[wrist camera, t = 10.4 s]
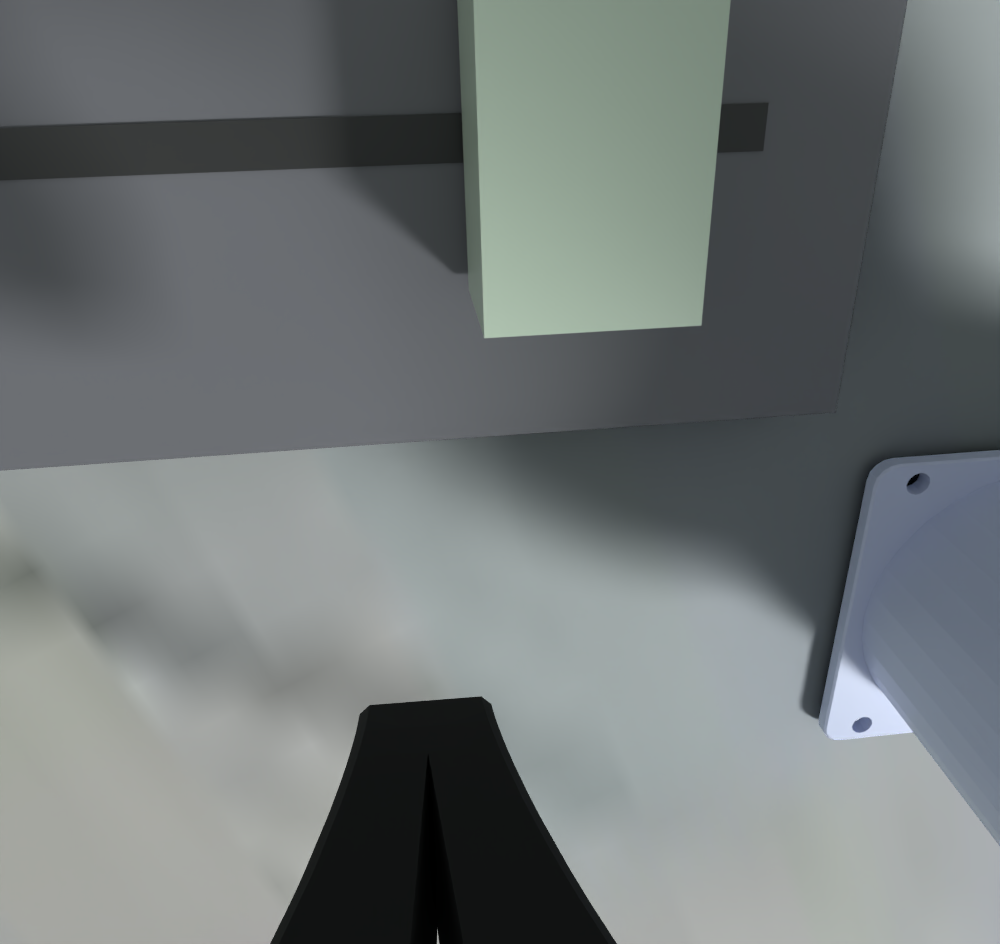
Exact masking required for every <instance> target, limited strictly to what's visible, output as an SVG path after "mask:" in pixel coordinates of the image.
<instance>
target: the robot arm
mask: <svg viewBox="0 0 1000 944" xmlns="http://www.w3.org/2000/svg"><path fill="white" fill-rule="evenodd" d="M919 473H920V475H919V477H918V479H917V481H915V482H914V483H913V484H912V485H908V486H907V483H908V481H909V479H910V478H912V477H913V476H914V475H916V474H919ZM859 718H860V719H859ZM858 719H859V720H858ZM856 720H857V721H856ZM819 725H820V727H821V729H822V730H823V732H824V733H825V735H826V736H827V737H828V738H830V739H832V740H845V739H855V738H864V737H873V736H882V735H892V734H901V733H910V732H913V733H914V734H915V735H916V737H917V738H918V739H919V741H920V742H921V743H922V744H923V746H924V747H925V748H926V750H927V751H928V752H929V754H930V755H931V756H932V758H933V759H934V760H935V762H936V763H937V764H938V766H939V767H940V768H941V769H942V771H943V772H944V773H945V775H946V776H947V777H948V779H949V780H950V781H951V783H952V784H953V785H954V787H955V788H956V789H957V790H958V792H959V793H960V794H961V796H962V797H963V798H964V800H965V801H966V802H967V804H968V805H969V806H970V808H971V809H972V810H973V812H974V813H975V814H976V815H977V817H978V818H979V819H980V821H981V822H982V823H983V825H984V826H985V827H986V829H987V830H988V831H989V833H990V834H991V835H992V837H993V838H994V839H995V840H996V842H997V843H998V844H999V846H1000V450H992V451H979V452H965V453H952V454H939V455H926V456H912V457H899V458H891V459H887V460H883V461H882V462H880V463H879V464H877V465H876V466H875V467H874V468H873V469H872V470H871V471H870V473H869V475H868V478H867V481H866V486H865V491H864V496H863V501H862V506H861V511H860V516H859V521H858V526H857V531H856V536H855V541H854V546H853V551H852V556H851V560H850V565H849V570H848V575H847V580H846V585H845V590H844V595H843V600H842V605H841V610H840V615H839V620H838V625H837V630H836V635H835V640H834V645H833V650H832V655H831V660H830V665H829V670H828V675H827V680H826V685H825V690H824V695H823V700H822V705H821V710H820V715H819ZM437 928H438V936H439V943H440V944H617V943H616V942H615V940H614V939H613V937H612V936H611V934H610V933H609V931H608V930H607V928H606V926H605V925H604V923H603V922H602V920H601V919H600V917H599V916H598V914H597V913H596V911H595V909H594V908H593V906H592V905H591V903H590V902H589V900H588V898H587V897H586V895H585V894H584V892H583V890H582V889H581V887H580V885H579V884H578V882H577V880H576V879H575V877H574V875H573V874H572V872H571V871H570V869H569V867H568V865H567V864H566V862H565V860H564V858H563V856H562V855H561V853H560V851H559V849H558V848H557V846H556V844H555V842H554V841H553V839H552V837H551V835H550V833H549V832H548V830H547V828H546V826H545V825H544V823H543V821H542V819H541V818H540V816H539V814H538V812H537V810H536V808H535V806H534V804H533V802H532V800H531V798H530V796H529V794H528V792H527V790H526V788H525V786H524V784H523V782H522V780H521V778H520V776H519V774H518V772H517V770H516V768H515V765H514V763H513V761H512V759H511V756H510V754H509V752H508V750H507V747H506V745H505V742H504V740H503V738H502V735H501V732H500V730H499V727H498V724H497V722H496V719H495V716H494V712H493V709H492V705H491V704H490V703H489V702H488V701H486V700H485V699H484V698H483V697H469V698H456V699H443V700H431V701H418V702H405V703H392V704H379V705H369V706H368V707H367V708H366V709H365V710H364V711H363V712H362V713H361V714H360V716H359V721H358V726H357V731H356V735H355V738H354V742H353V745H352V749H351V752H350V756H349V759H348V762H347V765H346V768H345V771H344V774H343V777H342V780H341V783H340V785H339V788H338V791H337V794H336V796H335V799H334V802H333V804H332V807H331V810H330V812H329V815H328V817H327V820H326V822H325V825H324V827H323V829H322V832H321V834H320V836H319V839H318V841H317V844H316V846H315V848H314V851H313V853H312V855H311V858H310V860H309V862H308V865H307V867H306V870H305V872H304V874H303V877H302V879H301V881H300V883H299V886H298V888H297V890H296V892H295V894H294V896H293V899H292V901H291V903H290V905H289V907H288V909H287V911H286V913H285V915H284V917H283V919H282V921H281V923H280V925H279V927H278V929H277V931H276V933H275V935H274V937H273V939H272V941H271V943H270V944H437Z"/></svg>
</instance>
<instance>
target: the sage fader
mask: <svg viewBox="0 0 1000 944" xmlns="http://www.w3.org/2000/svg"><path fill="white" fill-rule="evenodd" d="M730 2H731V0H457V8H458V33H459V58H460V83H461V108H462V133H463V158H464V183H465V208H466V232H467V257H468V282H469V292H470V295H471V298H472V301H473V305H474V308H475V311H476V314H477V317H478V320H479V323H480V326H481V329H482V333H483V336H484V338H497V337H514V336H532V335H549V334H566V333H583V332H600V331H617V330H634V329H651V328H668V327H685V326H701V324H702V313H703V301H704V290H705V279H706V268H707V257H708V246H709V235H710V224H711V213H712V202H713V191H714V180H715V168H716V157H717V146H718V135H719V124H720V113H721V102H722V91H723V80H724V69H725V58H726V47H727V35H728V24H729V13H730Z"/></svg>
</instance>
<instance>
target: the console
mask: <svg viewBox="0 0 1000 944" xmlns="http://www.w3.org/2000/svg"><path fill="white" fill-rule="evenodd" d="M906 6H907V0H731V2H730V13H729V24H728V35H727V47H726V58H725V69H724V80H723V91H722V102H721V113H720V124H719V135H718V146H717V157H716V168H715V180H714V191H713V202H712V213H711V224H710V235H709V246H708V257H707V268H706V279H705V290H704V301H703V313H702V324H701V326H685V327H668V328H651V329H634V330H617V331H600V332H583V333H566V334H549V335H532V336H514V337H497V338H484V336H483V333H482V329H481V326H480V323H479V320H478V317H477V314H476V311H475V308H474V305H473V301H472V298H471V295H470V292H469V282H468V257H467V232H466V208H465V183H464V158H463V133H462V108H461V83H460V58H459V33H458V8H457V0H0V470H15V469H29V468H43V467H58V466H72V465H87V464H101V463H115V462H130V461H144V460H158V459H173V458H187V457H202V456H216V455H230V454H245V453H259V452H273V451H288V450H302V449H317V448H331V447H345V446H360V445H374V444H388V443H403V442H417V441H432V440H446V439H460V438H475V437H489V436H503V435H518V434H532V433H547V432H561V431H575V430H590V429H604V428H618V427H633V426H647V425H662V424H676V423H690V422H705V421H719V420H733V419H748V418H762V417H777V416H791V415H805V414H820V413H834V412H836V407H837V402H838V396H839V390H840V384H841V379H842V373H843V367H844V361H845V356H846V350H847V344H848V339H849V333H850V327H851V321H852V316H853V310H854V304H855V298H856V293H857V287H858V281H859V275H860V270H861V264H862V258H863V253H864V247H865V241H866V235H867V230H868V224H869V218H870V212H871V207H872V201H873V195H874V189H875V184H876V178H877V172H878V167H879V161H880V155H881V149H882V144H883V138H884V132H885V126H886V121H887V115H888V109H889V103H890V98H891V92H892V86H893V81H894V75H895V69H896V63H897V58H898V52H899V46H900V40H901V35H902V29H903V23H904V17H905V12H906Z"/></svg>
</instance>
